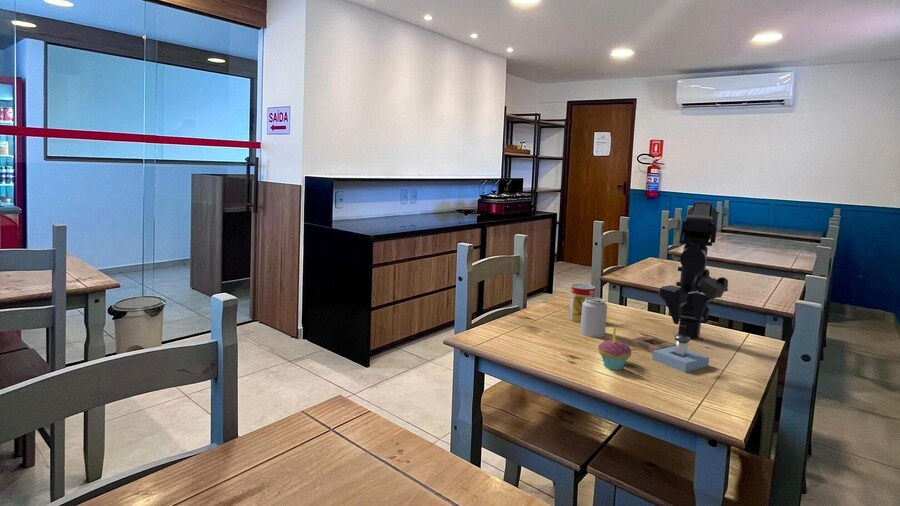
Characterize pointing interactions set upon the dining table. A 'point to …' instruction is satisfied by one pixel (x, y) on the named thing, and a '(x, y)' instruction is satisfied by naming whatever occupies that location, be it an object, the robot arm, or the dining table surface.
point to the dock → (680, 359)
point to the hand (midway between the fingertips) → (687, 321)
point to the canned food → (579, 299)
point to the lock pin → (681, 345)
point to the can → (593, 317)
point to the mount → (650, 343)
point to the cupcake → (614, 353)
